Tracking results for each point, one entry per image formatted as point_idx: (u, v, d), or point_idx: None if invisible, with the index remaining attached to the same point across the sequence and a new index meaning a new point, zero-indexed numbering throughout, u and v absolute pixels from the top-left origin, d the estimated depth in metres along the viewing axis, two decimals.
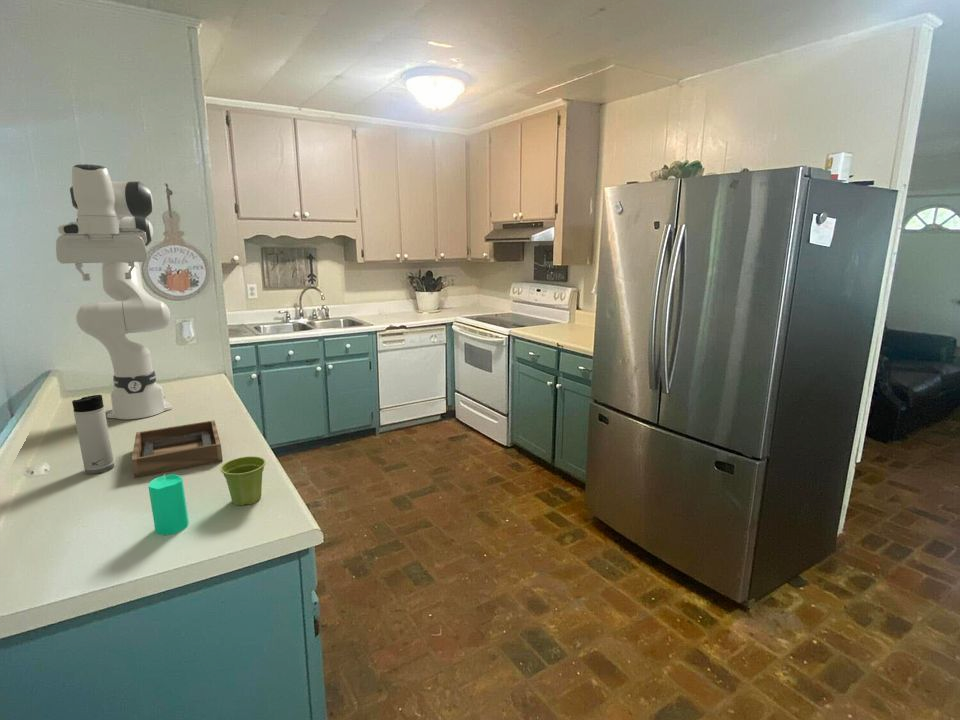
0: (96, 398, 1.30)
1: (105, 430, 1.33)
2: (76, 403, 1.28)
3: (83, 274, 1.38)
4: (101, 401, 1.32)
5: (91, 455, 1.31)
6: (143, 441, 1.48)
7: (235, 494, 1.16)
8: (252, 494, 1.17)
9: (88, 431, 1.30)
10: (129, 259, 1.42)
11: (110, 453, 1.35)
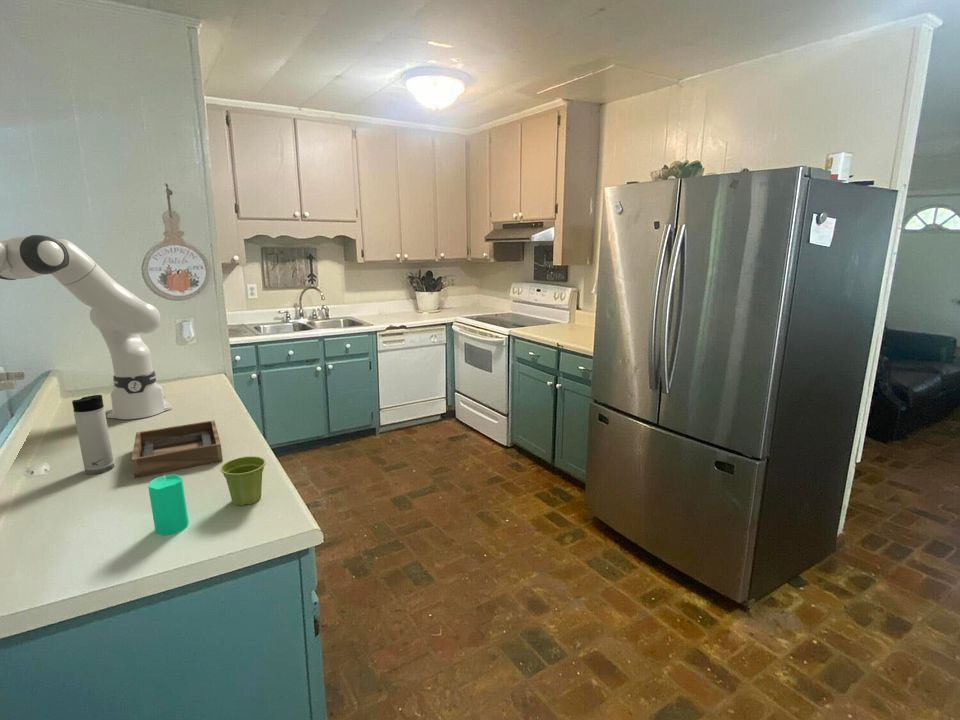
0: (96, 398, 1.30)
1: (105, 430, 1.33)
2: (76, 403, 1.28)
3: (4, 381, 1.18)
4: (101, 401, 1.32)
5: (91, 455, 1.31)
6: (143, 441, 1.48)
7: (235, 494, 1.16)
8: (252, 494, 1.17)
9: (88, 431, 1.30)
10: None
11: (110, 453, 1.35)
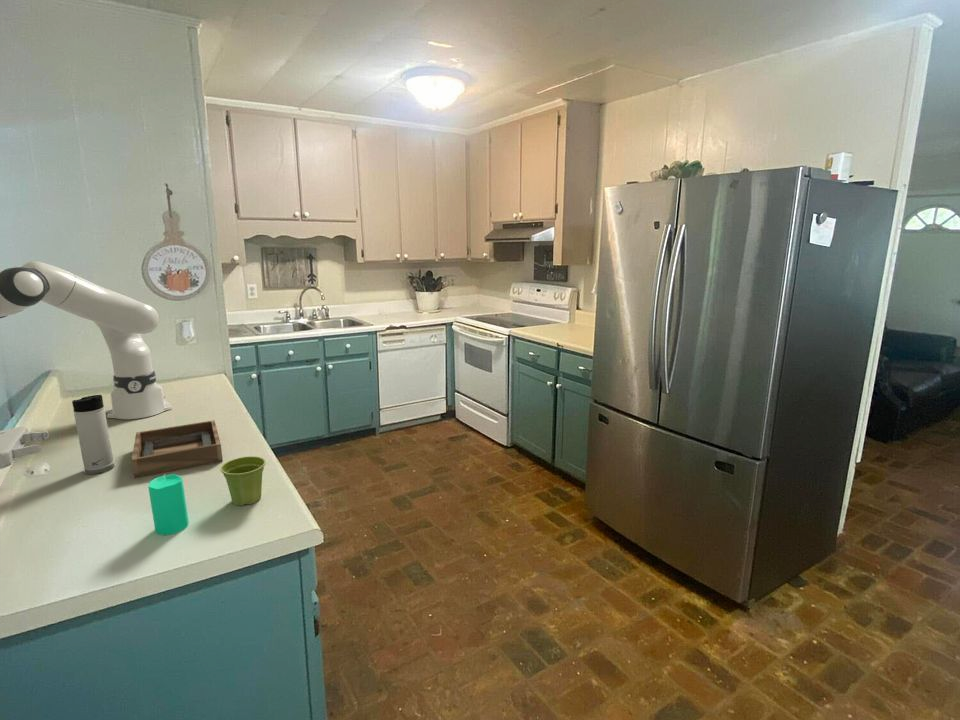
0: (96, 398, 1.30)
1: (105, 430, 1.33)
2: (76, 403, 1.28)
3: (30, 446, 1.22)
4: (101, 401, 1.32)
5: (91, 455, 1.31)
6: (143, 441, 1.48)
7: (235, 494, 1.16)
8: (252, 494, 1.17)
9: (88, 431, 1.30)
10: (19, 431, 1.29)
11: (110, 453, 1.35)
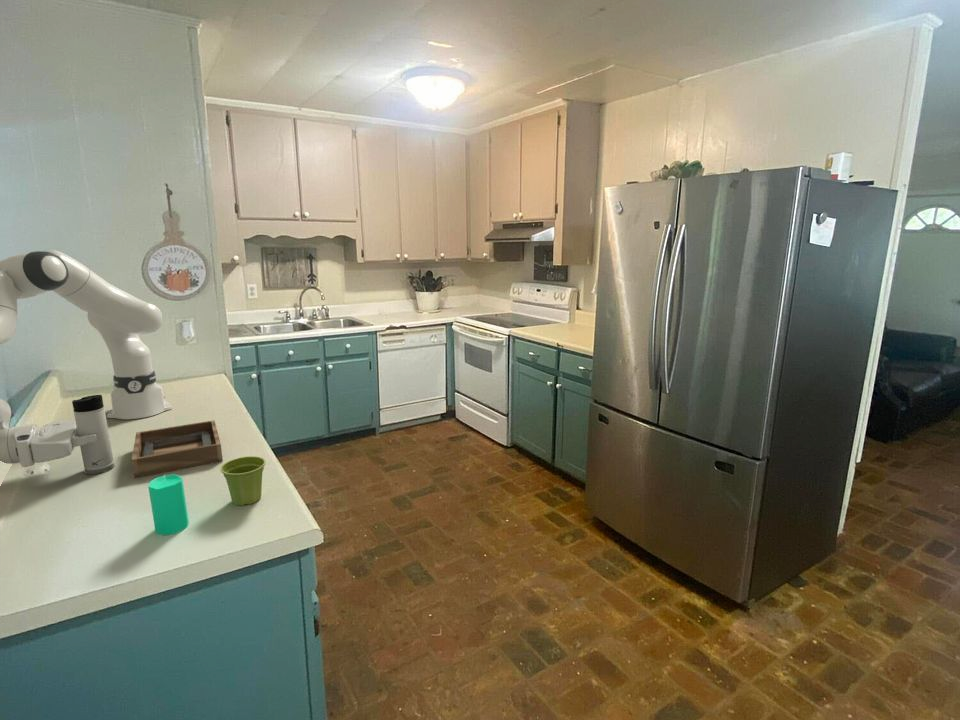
0: (96, 398, 1.29)
1: (105, 430, 1.33)
2: (76, 403, 1.28)
3: (87, 435, 1.29)
4: (101, 401, 1.32)
5: (91, 455, 1.31)
6: (143, 441, 1.48)
7: (235, 494, 1.16)
8: (252, 494, 1.17)
9: (88, 431, 1.30)
10: (74, 423, 1.35)
11: (110, 453, 1.35)
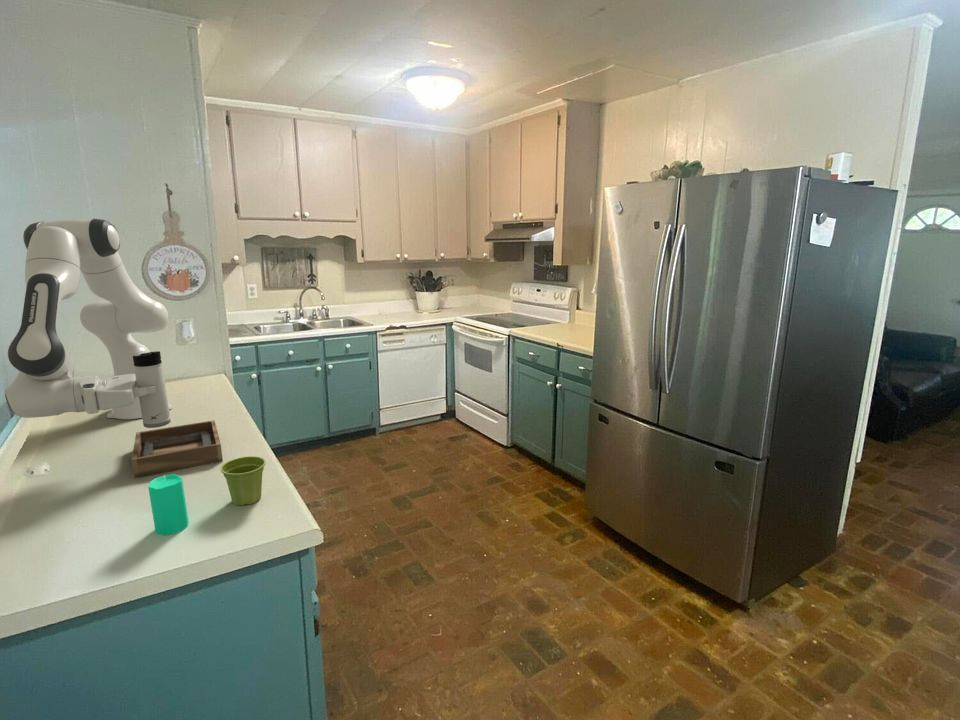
0: (156, 353, 1.34)
1: (163, 385, 1.37)
2: (137, 358, 1.32)
3: (147, 386, 1.33)
4: (160, 357, 1.36)
5: (150, 409, 1.35)
6: (143, 441, 1.48)
7: (235, 494, 1.16)
8: (252, 494, 1.17)
9: (148, 385, 1.34)
10: (132, 376, 1.39)
11: (167, 408, 1.39)
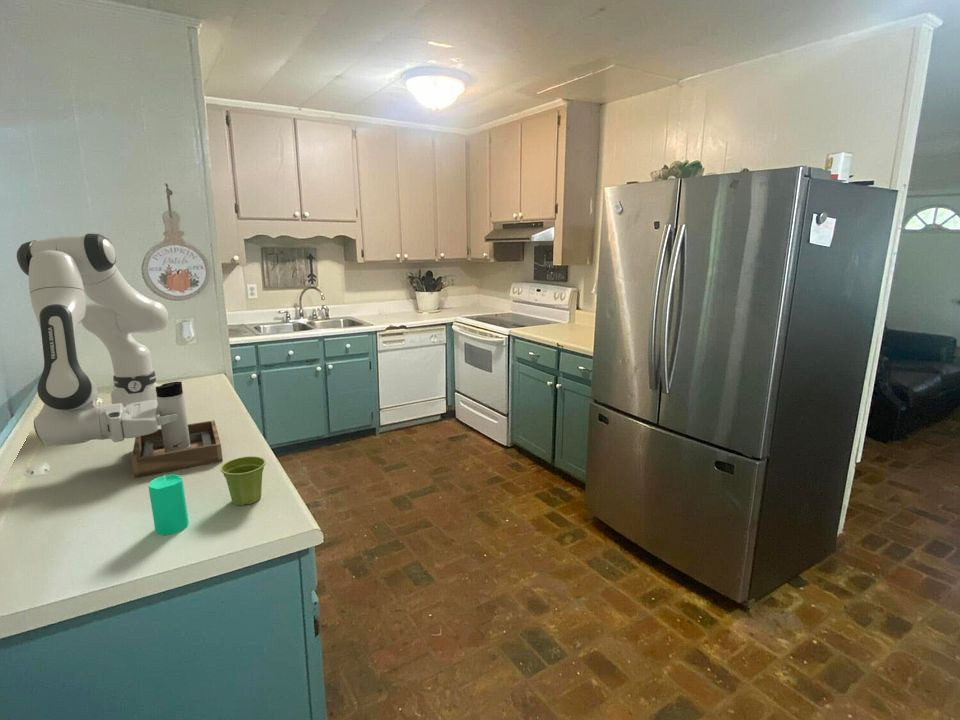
0: (178, 384, 1.38)
1: (184, 414, 1.41)
2: (160, 389, 1.36)
3: (169, 415, 1.36)
4: (181, 387, 1.40)
5: (172, 438, 1.40)
6: (143, 441, 1.48)
7: (235, 494, 1.16)
8: (252, 494, 1.17)
9: None
10: (153, 403, 1.43)
11: (188, 436, 1.43)
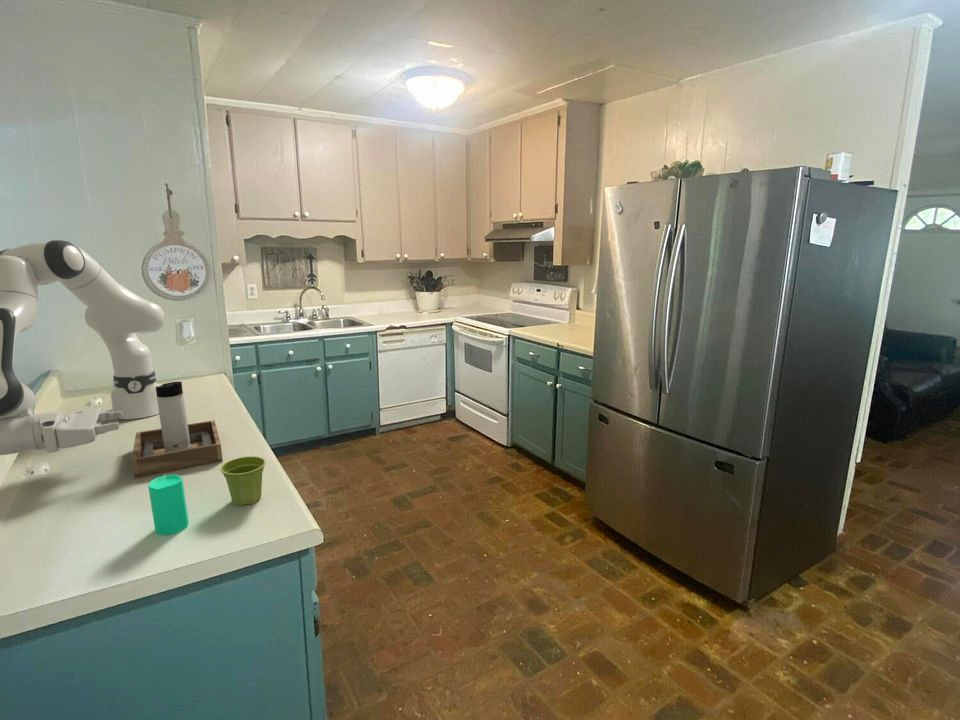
0: (178, 384, 1.38)
1: (184, 414, 1.41)
2: (160, 389, 1.36)
3: (110, 423, 1.30)
4: (181, 387, 1.40)
5: (172, 438, 1.40)
6: (143, 441, 1.48)
7: (235, 494, 1.16)
8: (252, 494, 1.17)
9: (170, 415, 1.38)
10: (96, 410, 1.37)
11: (188, 436, 1.43)
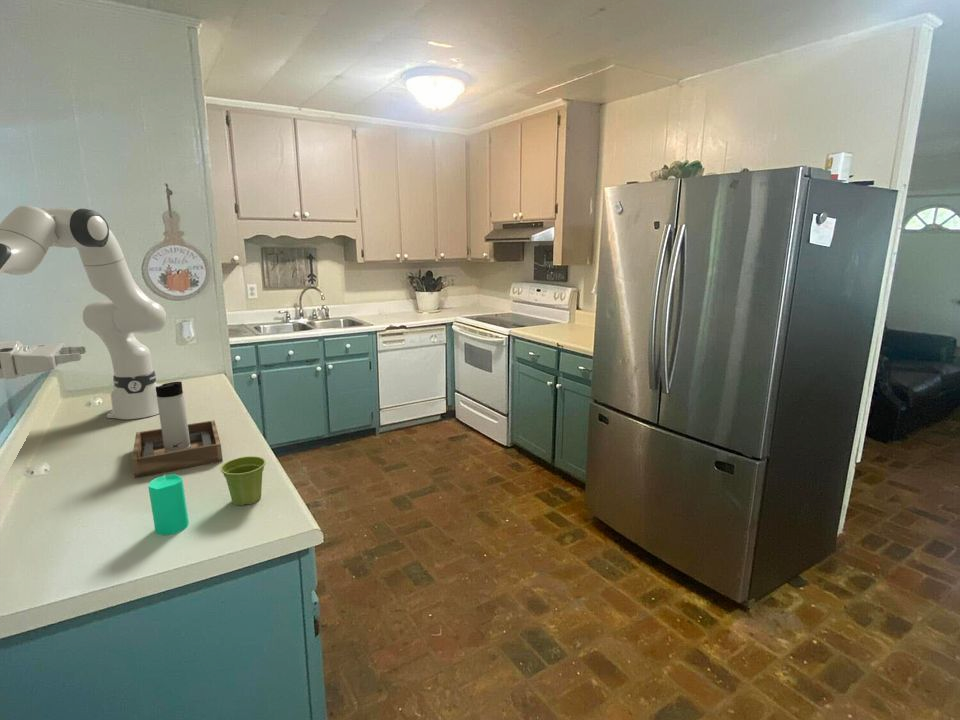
0: (178, 384, 1.38)
1: (184, 414, 1.42)
2: (160, 389, 1.36)
3: (71, 354, 1.28)
4: (181, 387, 1.40)
5: (172, 438, 1.40)
6: (143, 441, 1.48)
7: (235, 494, 1.16)
8: (252, 494, 1.17)
9: (170, 415, 1.38)
10: (59, 344, 1.35)
11: (188, 436, 1.43)
